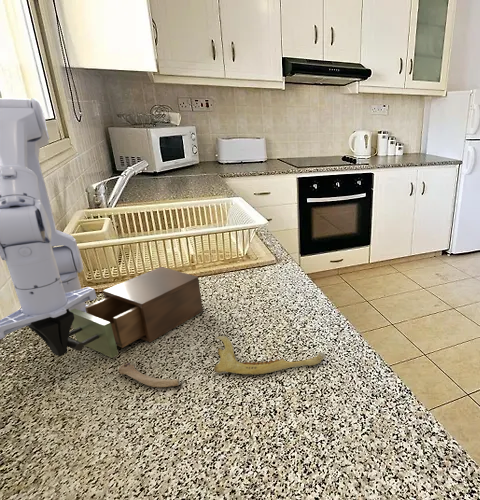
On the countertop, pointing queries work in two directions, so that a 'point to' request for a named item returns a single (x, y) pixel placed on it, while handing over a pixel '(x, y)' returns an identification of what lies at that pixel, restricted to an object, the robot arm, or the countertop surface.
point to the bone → (146, 377)
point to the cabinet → (161, 299)
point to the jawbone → (233, 366)
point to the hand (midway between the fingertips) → (60, 353)
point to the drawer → (106, 326)
